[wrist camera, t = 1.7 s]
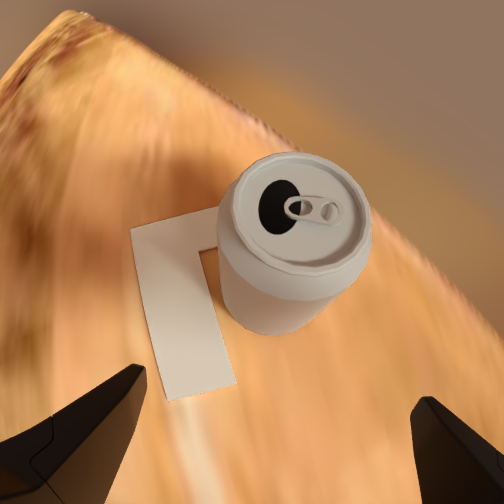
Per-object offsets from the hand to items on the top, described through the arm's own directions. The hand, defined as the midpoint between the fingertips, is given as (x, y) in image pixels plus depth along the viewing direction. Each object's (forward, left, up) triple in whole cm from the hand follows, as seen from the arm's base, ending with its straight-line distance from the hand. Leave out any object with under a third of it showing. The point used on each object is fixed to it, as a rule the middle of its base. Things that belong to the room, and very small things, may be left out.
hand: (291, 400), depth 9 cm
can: (+3, +7, -13) cm, 16 cm away
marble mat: (+1, +8, -13) cm, 16 cm away
